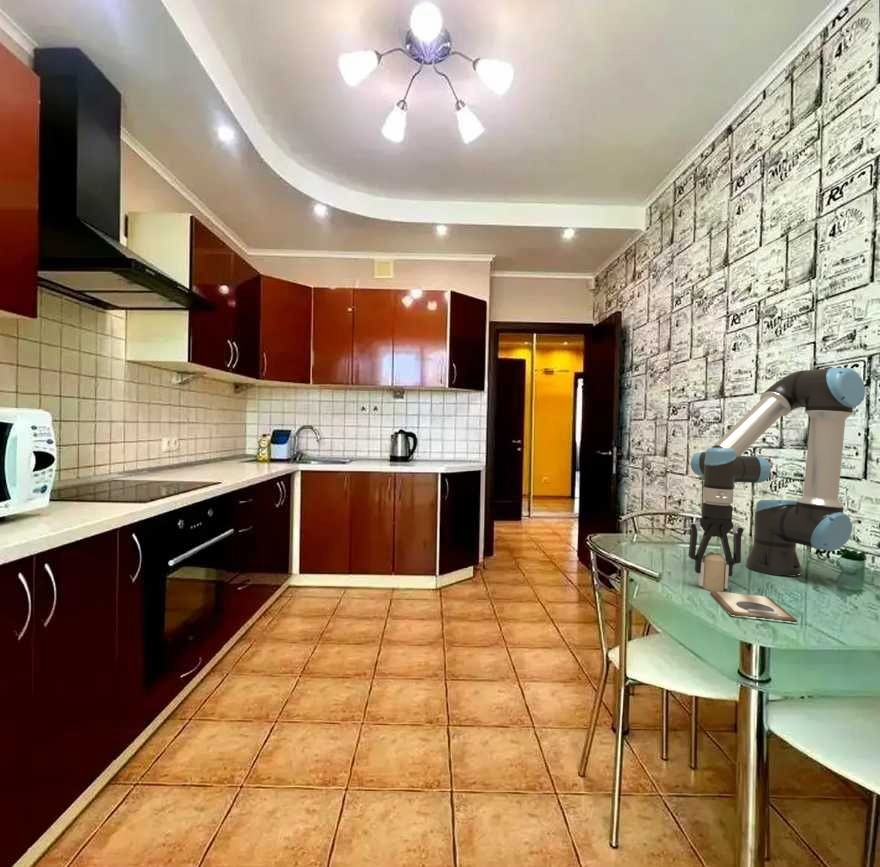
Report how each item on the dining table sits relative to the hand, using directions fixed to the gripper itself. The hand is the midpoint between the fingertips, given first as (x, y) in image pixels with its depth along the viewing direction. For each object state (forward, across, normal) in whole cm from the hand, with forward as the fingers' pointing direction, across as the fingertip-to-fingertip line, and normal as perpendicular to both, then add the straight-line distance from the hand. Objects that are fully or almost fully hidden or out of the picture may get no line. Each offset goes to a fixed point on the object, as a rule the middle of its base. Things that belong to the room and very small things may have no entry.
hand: (712, 585), depth 151 cm
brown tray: (+1, +5, -15) cm, 16 cm away
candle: (+1, 0, 0) cm, 1 cm away
